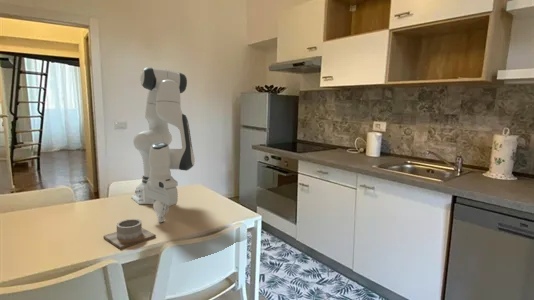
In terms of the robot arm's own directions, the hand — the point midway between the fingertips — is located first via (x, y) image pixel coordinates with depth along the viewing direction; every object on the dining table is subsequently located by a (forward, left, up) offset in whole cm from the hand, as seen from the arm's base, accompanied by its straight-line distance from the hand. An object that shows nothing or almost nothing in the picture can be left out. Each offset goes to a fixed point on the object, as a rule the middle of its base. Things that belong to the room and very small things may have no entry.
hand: (161, 210), depth 134 cm
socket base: (+5, -17, -6) cm, 19 cm away
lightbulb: (0, 0, -6) cm, 6 cm away
